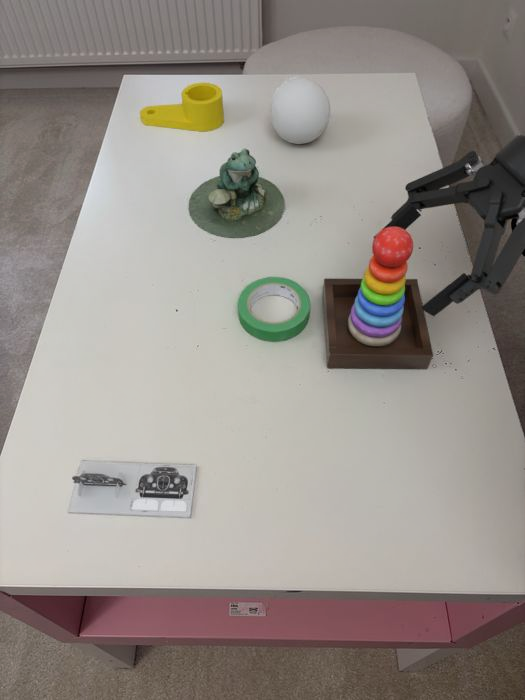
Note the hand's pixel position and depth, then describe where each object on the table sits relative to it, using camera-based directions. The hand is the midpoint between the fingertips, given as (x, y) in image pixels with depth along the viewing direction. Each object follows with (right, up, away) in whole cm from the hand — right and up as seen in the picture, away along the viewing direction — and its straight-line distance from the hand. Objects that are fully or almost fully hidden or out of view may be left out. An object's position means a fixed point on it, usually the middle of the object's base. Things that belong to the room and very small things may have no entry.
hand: (401, 275), depth 70 cm
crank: (-36, +40, +42) cm, 69 cm away
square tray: (-2, -7, +9) cm, 11 cm away
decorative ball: (-11, +34, +38) cm, 52 cm away
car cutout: (-35, -28, -5) cm, 45 cm away
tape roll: (-17, -5, +11) cm, 21 cm away
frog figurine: (-24, +17, +26) cm, 39 cm away
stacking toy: (-2, -7, +8) cm, 11 cm away
